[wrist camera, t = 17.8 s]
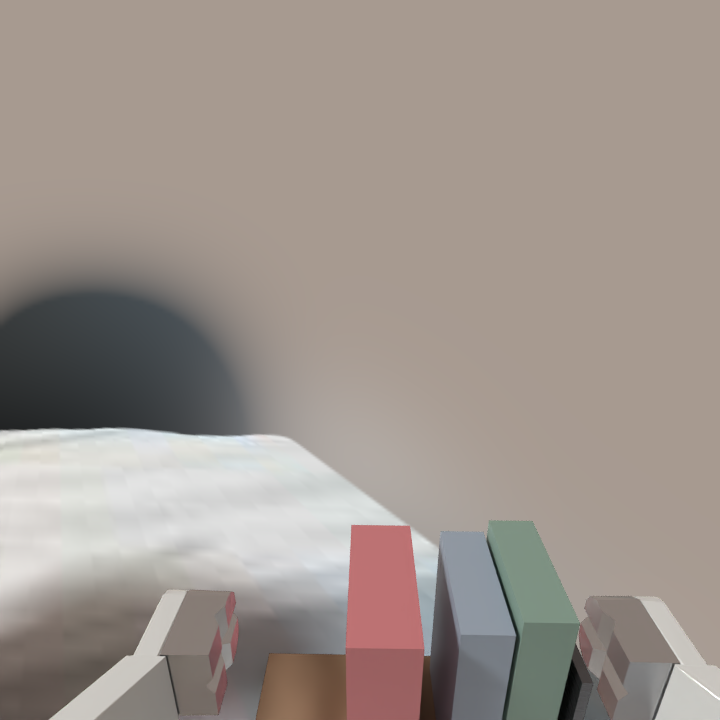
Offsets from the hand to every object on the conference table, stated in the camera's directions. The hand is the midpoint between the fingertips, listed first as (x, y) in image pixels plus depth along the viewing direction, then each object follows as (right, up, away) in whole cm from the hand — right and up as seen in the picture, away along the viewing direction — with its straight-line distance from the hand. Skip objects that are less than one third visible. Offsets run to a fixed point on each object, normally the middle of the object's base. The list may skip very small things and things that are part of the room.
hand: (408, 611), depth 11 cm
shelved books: (+8, -21, +24) cm, 32 cm away
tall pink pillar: (0, -21, +23) cm, 31 cm away
